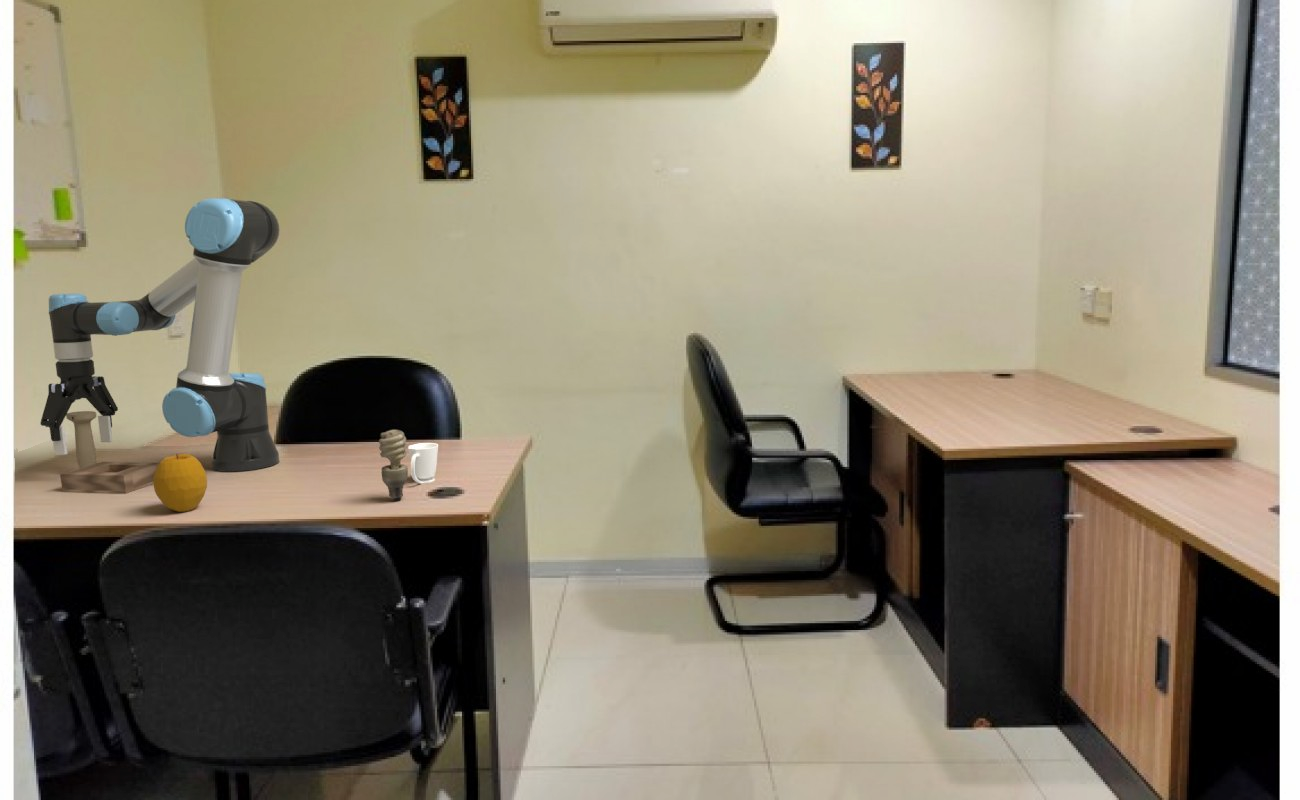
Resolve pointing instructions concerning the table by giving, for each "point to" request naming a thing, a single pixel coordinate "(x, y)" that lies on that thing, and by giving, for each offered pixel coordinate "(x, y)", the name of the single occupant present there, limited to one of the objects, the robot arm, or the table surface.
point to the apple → (180, 482)
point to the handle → (83, 437)
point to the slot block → (109, 477)
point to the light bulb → (394, 462)
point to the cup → (423, 461)
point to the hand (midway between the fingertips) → (84, 448)
